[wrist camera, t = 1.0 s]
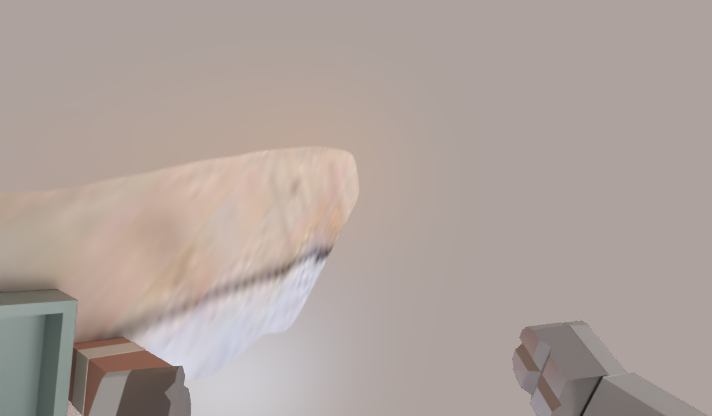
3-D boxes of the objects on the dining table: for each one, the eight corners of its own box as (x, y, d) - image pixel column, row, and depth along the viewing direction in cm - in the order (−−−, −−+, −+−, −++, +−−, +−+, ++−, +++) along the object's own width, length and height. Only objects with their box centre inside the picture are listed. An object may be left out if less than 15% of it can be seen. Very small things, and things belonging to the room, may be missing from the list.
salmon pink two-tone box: (64, 396, 43) (109, 443, 35) (69, 343, 44) (115, 379, 36) (119, 384, 47) (171, 425, 39) (123, 336, 47) (176, 367, 39)
